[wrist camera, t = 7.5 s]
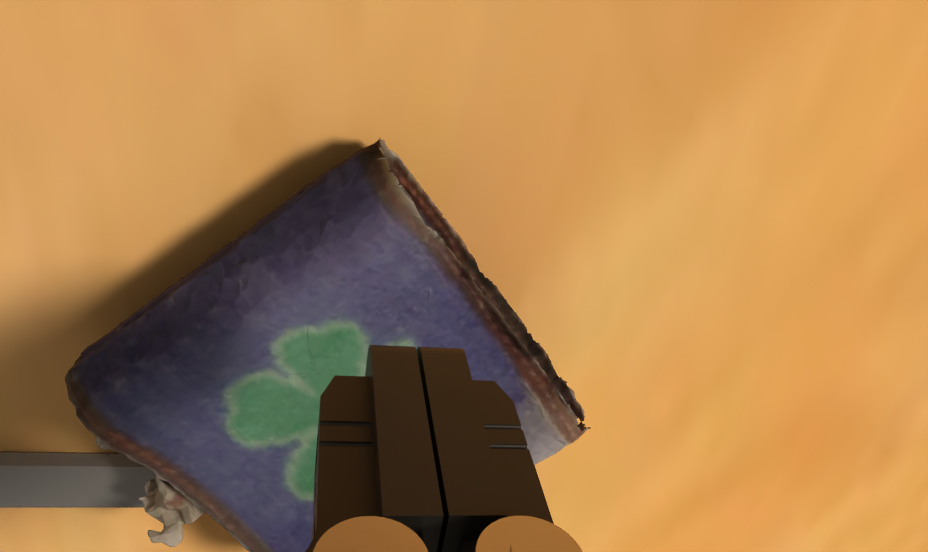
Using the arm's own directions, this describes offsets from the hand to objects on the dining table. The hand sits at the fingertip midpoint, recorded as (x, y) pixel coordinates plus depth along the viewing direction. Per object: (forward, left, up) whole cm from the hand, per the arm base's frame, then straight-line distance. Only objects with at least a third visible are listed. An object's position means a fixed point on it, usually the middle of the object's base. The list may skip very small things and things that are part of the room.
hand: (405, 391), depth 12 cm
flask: (-3, +1, -5) cm, 6 cm away
